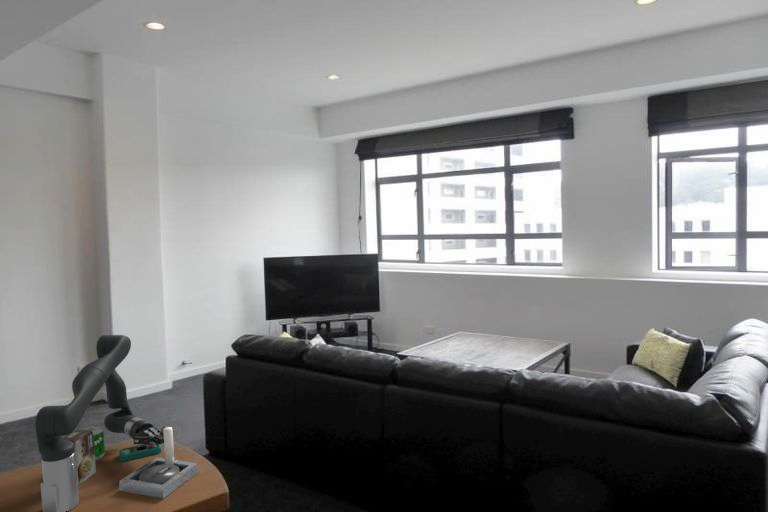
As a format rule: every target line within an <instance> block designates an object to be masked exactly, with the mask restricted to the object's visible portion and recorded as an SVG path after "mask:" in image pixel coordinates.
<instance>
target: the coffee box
mask: <svg viewBox="0 0 768 512" xmlns="http://www.w3.org/2000/svg"><path fill="white" fill-rule="evenodd" d="M63 438H64V439H66V440H69V441H71V442H73V444H74V446H75V458H76V472H77V485H78V486H80V485H81V484H82V483H84V482H85V481H87V480H88V479H90V478H91V477H92V476H94V474H96V473H97V467H96V461H95V452H94V441H93V431H90V430H83V429H76V430H74V431H73V432H72V433H70V434H68V435H65V436H64V437H63ZM79 484H80V485H79Z"/></svg>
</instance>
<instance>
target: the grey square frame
mask: <svg viewBox="0 0 768 512" xmlns="http://www.w3.org/2000/svg"><path fill="white" fill-rule="evenodd" d="M163 464H165V457H164V458H163V457H154V458H153V459H151V460H150V461H149V462H146V463H145V464H144V465H141V466H140V467H139V468H137V469H136V470H134V471H133V472H131V473H129V474H127V476H125V477H123V478H122V479H119V481H118V483H119V486H118V488H119V491H120V492H124V491H125V492H126V493H131V494H135V495H136V494H137V495H140V496H141V495H142V496H147V497H151V498H152V497H153V498H159V499H165V498H167V496H169V495H170V494H171V493H173V492H174V491H175V490H177V489H178V488H179V487H181V486H182V485H183V484H185V483H186V482H188V481H189V480H190V479H192V478H193V477H195V475H196V473H197V474H198V473H199V466H198V463H197V462H190V461H184V460H183V461H182V460H178V459H174V464H175V465H176V466H178V467H179V471H180V472H179V473H178V474H176V475H175V476H174V477H172V478H171V479H169V480H168V481H167V482H165V483H164V484H163V485H161V484H155V483H149V482H143V481H139V476H140V474H141V473H142V472H143V471H145V470H146V469H148V468H151V467H154V466H157V465H163ZM125 492H124V493H125Z"/></svg>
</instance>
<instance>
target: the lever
mask: <svg viewBox="0 0 768 512" xmlns="http://www.w3.org/2000/svg"><path fill="white" fill-rule="evenodd" d="M165 427H166V428H164V429H163V432H164V443H163V447H164V459H165V464H163V465H157V466H154V467H151V468H148V469H146V470H145V471H143V472H142V473H141V474H140V476H139V481H143V482H149V483H155V484H161V485H163V484H164V483H165V482H167V481H168V480H169V479H171V478H172V477H174V476H175V475H176V474H178V473H179V472H180V471H179V467H178V466H176V465H175V464H174V460H175V451H174V450H175V449H174V434H173V433H174V432H173V431H174V430H173V427H172V426H165Z"/></svg>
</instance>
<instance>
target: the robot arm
mask: <svg viewBox="0 0 768 512" xmlns="http://www.w3.org/2000/svg"><path fill="white" fill-rule="evenodd" d="M95 347H96V348H95V349H96V355H97V358H96V359H95V360H93V361H91V362H89V363H87V364H86V365H84V366H83V367H82V368H81V369H80V371H78V373H77V374H76V375H75V377H74V379H73V380H72V383H71V390H72V393H73V396H74V397H73V399H72V400H71V402H69V403H68V404H64V405H61V404H60V405H45V406H43V407H41V408H40V409H39V410H38V412H37V414H36V417H35V422H34V423H35V424H34V427H35V436H36V441H37V449H38V452H39V454H40V458H41V470H42V471H41V473H42V481H43V482H42V483H40V486H39V487H40V497H41V508H42V512H66V511H67V512H70V511H71V510H73V509H75V508H76V507H77V506H78V505H79V502H80V501H79V499H80V498H79V489H78V488H79V487H78V486H79V485H77V472H76V458H75V446H74V444H73V442H71V441H69V440H66V439H64V437H62V436H68V435H69V434H71V433H73V432H74V431H76V430H75V429H77V427H78V426H79V424H80V422H81V420H82V418H83V417H84V414H85V413H86V411H87V409H88V408H89V406H90V404H91V403H92V401H93V400H94V398H95V397H96V395H97V394H98V393H99V392H100V390H101V389H102V388H103V386H104V385H105V390H106V399H107V406H108V408H109V409H112V410H116V411H114V412H111V413H109V414H107V415H106V416H105V418H104V420H103V425H104V427H105V429H106V430H108V431H109V432H110V433H115V434H116V433H117V434H125V435H126V436H127V437H129V438H131V439H132V440H133V445H142V444H150V443H151V442H152V443H156V444H159V445H160V444H161V445H164V432H163V429H164V428H166V427H167V426H162V427H161V428H159V427H155V426H154V425H153V424H152V423H151V422H149V421H147V420H144V419H142V418H140V417H136V416H134V413H133V410H132V409H131V407H130V404H129V402H128V394H127V386H126V384H125V381H124V380H123V378H122V377H121V375H120V374H119V373H118V371H117V370H116V368H117V367H118V366H119V365H120V364H121V363H122V362H123V361H124V360H125V359H126V358H127V356H128V355H129V353H130V351H131V347H132V341H131V339H130V337H129V336H127V335H123V334H103V335H101V336H99V338H98V340H97V341H96V346H95ZM118 409H119V410H118Z"/></svg>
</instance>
